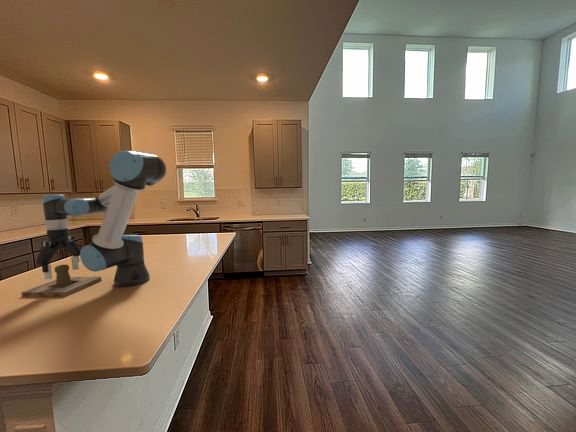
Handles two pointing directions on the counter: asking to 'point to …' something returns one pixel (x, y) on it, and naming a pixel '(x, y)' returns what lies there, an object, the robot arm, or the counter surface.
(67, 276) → the olive tapered block
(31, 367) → the counter surface
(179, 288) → the counter surface
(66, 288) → the walnut board
